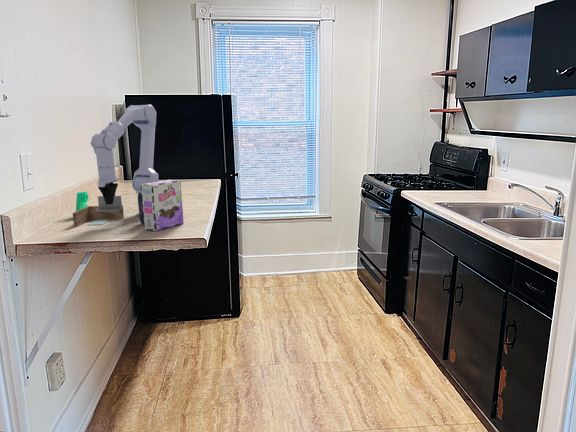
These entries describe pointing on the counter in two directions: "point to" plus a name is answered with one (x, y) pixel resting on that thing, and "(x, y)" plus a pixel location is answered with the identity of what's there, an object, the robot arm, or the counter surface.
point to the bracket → (109, 207)
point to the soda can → (140, 208)
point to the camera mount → (81, 200)
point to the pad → (99, 222)
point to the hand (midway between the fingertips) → (110, 203)
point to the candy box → (162, 204)
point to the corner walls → (94, 215)
